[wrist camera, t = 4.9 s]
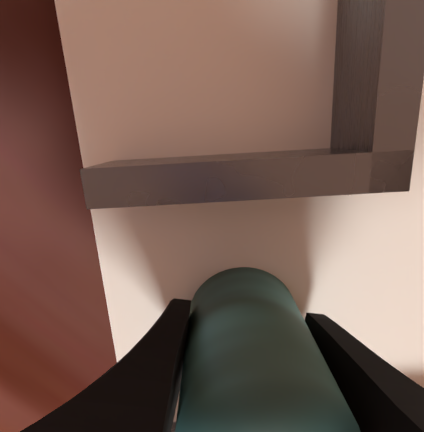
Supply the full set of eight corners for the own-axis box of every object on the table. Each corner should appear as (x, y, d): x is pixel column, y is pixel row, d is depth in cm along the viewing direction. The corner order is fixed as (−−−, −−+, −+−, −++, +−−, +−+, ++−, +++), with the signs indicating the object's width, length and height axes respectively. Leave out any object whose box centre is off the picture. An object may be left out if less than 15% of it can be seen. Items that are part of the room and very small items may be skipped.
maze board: (136, 447, 13) (133, 461, 13) (-37, -590, 6) (-65, -670, 5) (575, 425, 13) (592, 439, 13) (972, -672, 6) (1060, -764, 5)
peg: (193, 362, 11) (180, 526, 7) (184, 270, 10) (163, 386, 6) (294, 356, 11) (355, 518, 7) (296, 264, 10) (371, 375, 6)
